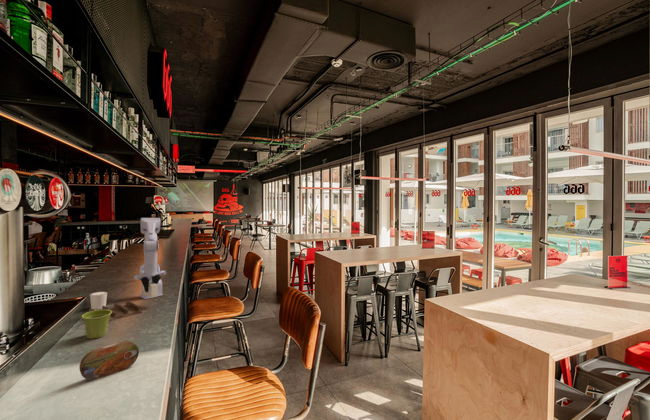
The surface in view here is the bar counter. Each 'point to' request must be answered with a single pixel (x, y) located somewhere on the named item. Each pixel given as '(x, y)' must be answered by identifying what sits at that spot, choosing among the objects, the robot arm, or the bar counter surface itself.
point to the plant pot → (96, 323)
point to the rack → (122, 310)
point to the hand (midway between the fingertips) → (150, 291)
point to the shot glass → (98, 300)
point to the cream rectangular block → (151, 290)
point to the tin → (108, 360)
